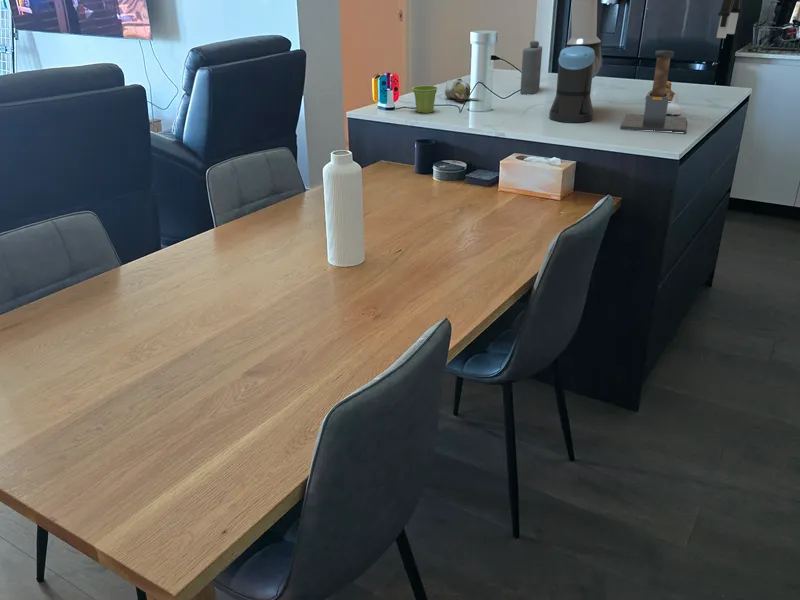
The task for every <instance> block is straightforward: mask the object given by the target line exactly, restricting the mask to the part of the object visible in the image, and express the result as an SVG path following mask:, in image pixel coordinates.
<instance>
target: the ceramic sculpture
mask: <svg viewBox="0 0 800 600" xmlns="http://www.w3.org/2000/svg"><path fill="white" fill-rule="evenodd" d="M470 90H472V89H471V85H470V84H469V83H467V82H466V81H463V79H462V78H457V79H455V80H454V81H453V80H450V79H447V80H446V85H445V88H444V94H445V96H446V98H447V99H448V100H452V99H455V100H456V101H458V102H464V101H467V100H468V99H469V98H468V97H469V95H470Z"/></svg>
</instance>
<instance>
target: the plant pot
mask: <svg viewBox="0 0 800 600" xmlns="http://www.w3.org/2000/svg"><path fill="white" fill-rule="evenodd" d="M411 89H412V90H413V94H414V98H415V106H416V107H415V108H416V112H417V113H422V114H427V113H428V114H430V113H432V112H434V108H435V100H436V95H437V90H438V89H439V87H437V86H434V85H418V86H417V85H416V86H413V87H411Z"/></svg>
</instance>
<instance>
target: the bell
mask: <svg viewBox="0 0 800 600" xmlns="http://www.w3.org/2000/svg"><path fill="white" fill-rule="evenodd" d="M649 92H652V90H650V91H649ZM665 93H670V94H669V100H668V101H672V100H673V97H674V95H675V92H674V91H673V90H672V82H671V81H669V80H667V84H666V91H665ZM646 98H647V94H646V95H645V99H646Z"/></svg>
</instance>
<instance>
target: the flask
mask: <svg viewBox="0 0 800 600" xmlns="http://www.w3.org/2000/svg"><path fill="white" fill-rule="evenodd" d="M542 56H543V46H542V45H540V42H539V41H537V40H532V41H530V42H529V47H526V48H523V49H522V60H521V61H522V62H521V77H520V90H519V91H520V93H519V94H520V95H523V94H526V96H528V95H527V94H531V95H534V94H536V93H538V92H539V90H540V85H541V84H540V83H541V71H542V68H541V67H542Z"/></svg>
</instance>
